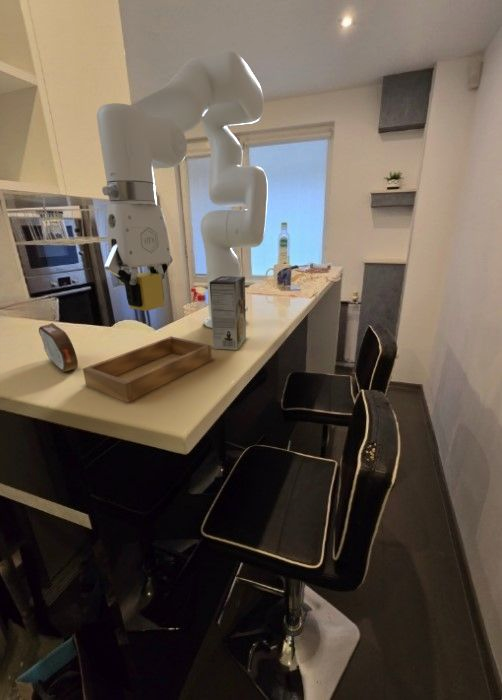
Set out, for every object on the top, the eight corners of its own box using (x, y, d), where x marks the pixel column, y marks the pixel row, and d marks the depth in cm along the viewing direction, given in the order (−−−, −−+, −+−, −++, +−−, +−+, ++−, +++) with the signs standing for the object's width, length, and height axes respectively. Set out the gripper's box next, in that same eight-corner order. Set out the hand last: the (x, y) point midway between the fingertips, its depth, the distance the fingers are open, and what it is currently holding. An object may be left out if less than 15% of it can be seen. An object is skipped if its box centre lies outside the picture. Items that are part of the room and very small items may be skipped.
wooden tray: (172, 350, 78) (171, 336, 76) (211, 360, 72) (211, 345, 70) (86, 385, 60) (82, 368, 59) (128, 403, 54) (125, 384, 53)
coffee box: (223, 337, 87) (220, 275, 81) (246, 338, 85) (245, 276, 80) (212, 348, 78) (208, 281, 73) (238, 350, 77) (236, 282, 71)
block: (148, 303, 65) (144, 272, 62) (164, 305, 62) (161, 274, 60) (129, 308, 61) (124, 275, 59) (146, 311, 59) (141, 277, 57)
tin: (81, 373, 65) (73, 333, 63) (64, 378, 63) (55, 337, 60) (58, 354, 76) (50, 319, 73) (43, 358, 74) (34, 322, 71)
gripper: (101, 191, 46) (121, 316, 53) (184, 197, 60) (192, 296, 66) (71, 194, 50) (93, 310, 57) (155, 199, 63) (165, 293, 70)
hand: (146, 301), depth 61 cm, fingers closed on block, 4 cm apart
